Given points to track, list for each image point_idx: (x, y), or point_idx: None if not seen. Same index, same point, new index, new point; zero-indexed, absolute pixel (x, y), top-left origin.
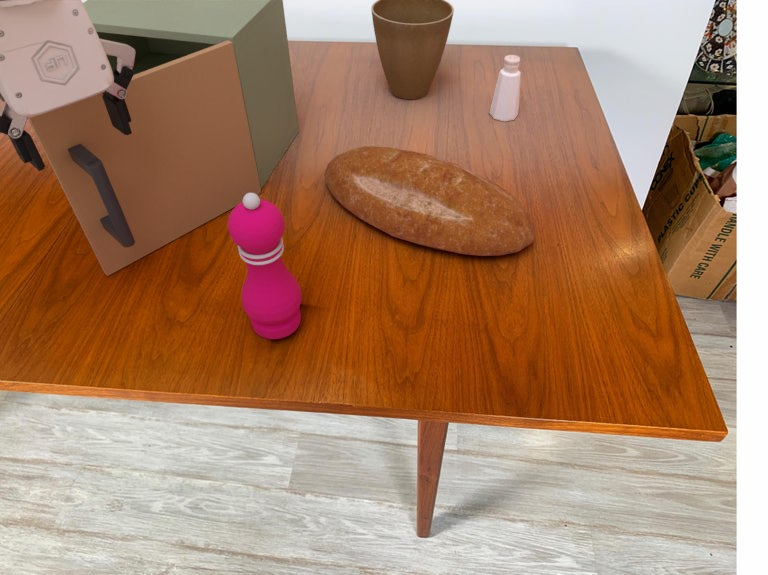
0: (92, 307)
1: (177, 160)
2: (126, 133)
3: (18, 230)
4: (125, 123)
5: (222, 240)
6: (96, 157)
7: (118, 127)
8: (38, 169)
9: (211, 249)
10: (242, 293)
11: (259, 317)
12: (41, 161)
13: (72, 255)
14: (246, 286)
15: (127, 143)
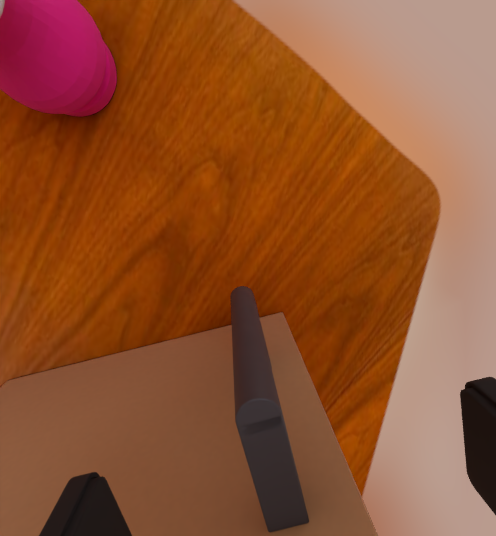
0: (317, 262)
1: (77, 447)
2: (93, 479)
3: (358, 458)
4: (57, 528)
5: (104, 302)
6: (244, 445)
7: (115, 529)
8: (492, 383)
9: (126, 291)
10: (85, 54)
11: (81, 5)
12: (492, 405)
13: (311, 378)
14: (63, 31)
15: (148, 507)
